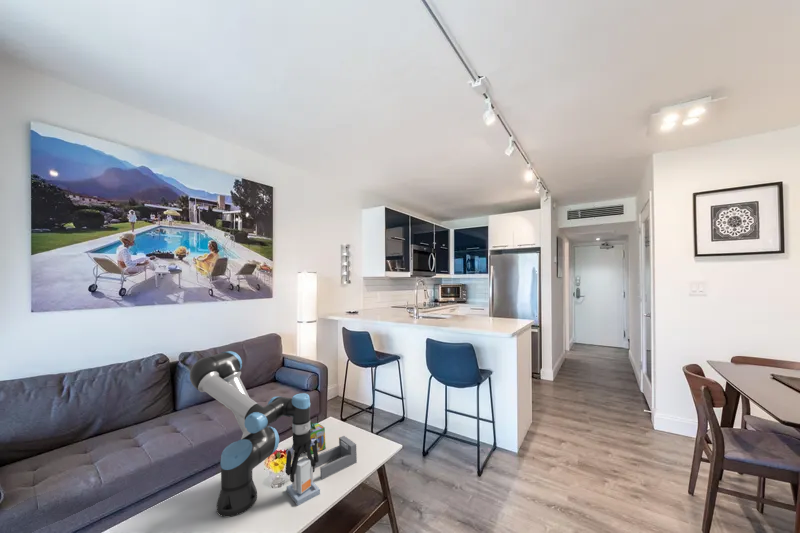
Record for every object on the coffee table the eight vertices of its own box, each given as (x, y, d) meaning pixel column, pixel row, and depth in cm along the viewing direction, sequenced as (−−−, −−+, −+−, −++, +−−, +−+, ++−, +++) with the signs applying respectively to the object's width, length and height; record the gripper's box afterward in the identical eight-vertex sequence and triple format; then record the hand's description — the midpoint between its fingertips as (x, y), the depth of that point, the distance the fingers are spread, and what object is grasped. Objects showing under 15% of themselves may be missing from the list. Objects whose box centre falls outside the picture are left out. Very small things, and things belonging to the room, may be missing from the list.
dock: (322, 479, 144) (321, 459, 144) (310, 468, 153) (310, 449, 153) (356, 462, 156) (356, 444, 156) (344, 452, 165) (344, 435, 165)
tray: (297, 505, 128) (297, 500, 128) (286, 490, 137) (286, 486, 137) (320, 493, 134) (319, 489, 134) (308, 480, 143) (308, 476, 143)
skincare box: (301, 495, 132) (300, 466, 132) (294, 491, 134) (293, 463, 134) (311, 486, 137) (311, 458, 137) (305, 483, 139) (304, 456, 140)
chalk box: (325, 448, 169) (325, 421, 170) (310, 455, 163) (309, 427, 164) (318, 442, 176) (317, 416, 177) (302, 448, 170) (301, 421, 171)
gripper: (282, 442, 127) (283, 500, 126) (326, 426, 140) (327, 478, 139) (275, 435, 133) (276, 490, 132) (318, 420, 146) (319, 470, 145)
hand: (302, 484), depth 136 cm, fingers closed on skincare box, 7 cm apart
